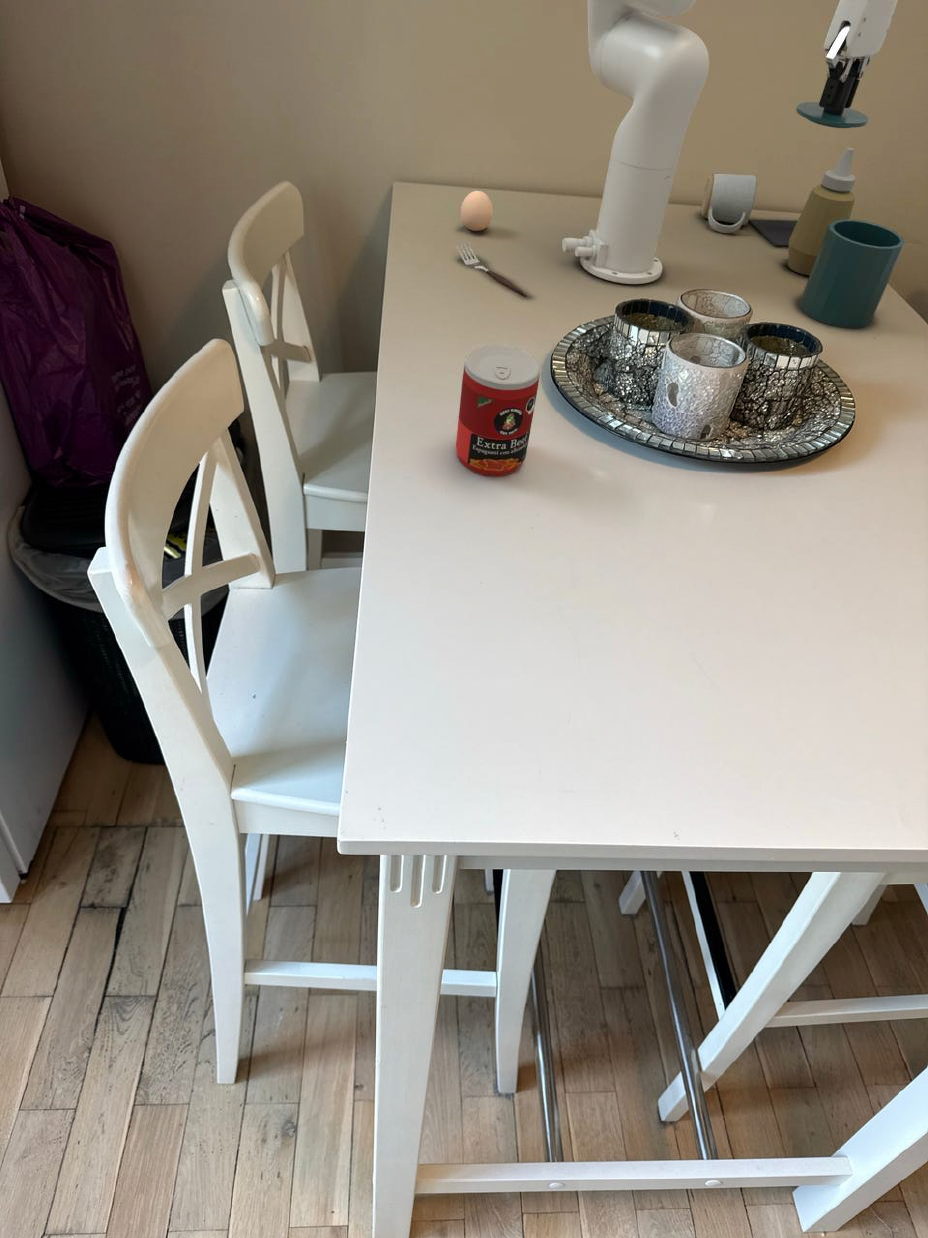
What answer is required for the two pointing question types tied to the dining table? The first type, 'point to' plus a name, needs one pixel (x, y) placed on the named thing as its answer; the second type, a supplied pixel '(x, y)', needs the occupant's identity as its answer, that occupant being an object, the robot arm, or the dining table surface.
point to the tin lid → (834, 112)
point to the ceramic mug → (728, 200)
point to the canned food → (496, 409)
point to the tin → (851, 273)
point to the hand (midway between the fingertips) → (834, 105)
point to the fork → (494, 275)
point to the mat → (775, 230)
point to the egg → (476, 211)
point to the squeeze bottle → (822, 214)
